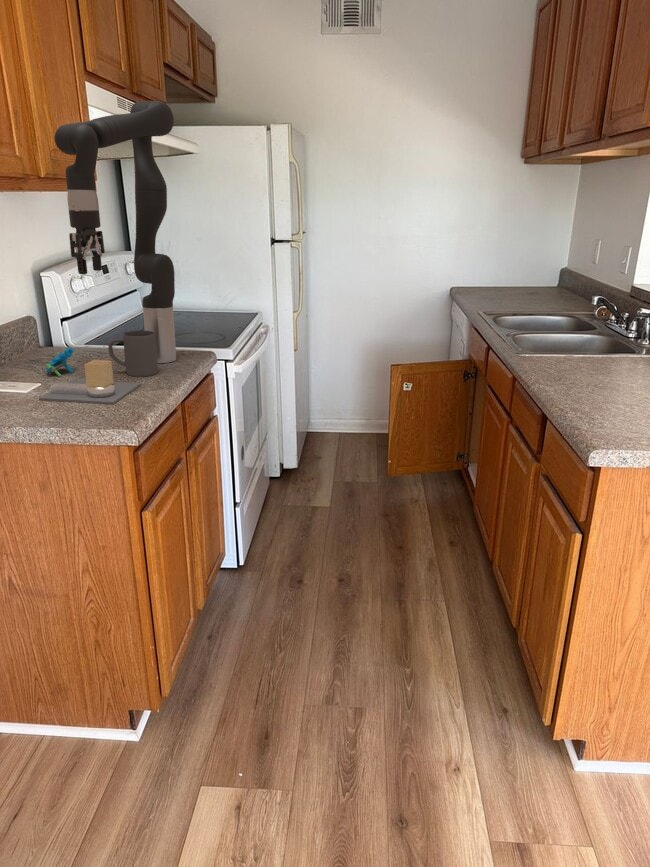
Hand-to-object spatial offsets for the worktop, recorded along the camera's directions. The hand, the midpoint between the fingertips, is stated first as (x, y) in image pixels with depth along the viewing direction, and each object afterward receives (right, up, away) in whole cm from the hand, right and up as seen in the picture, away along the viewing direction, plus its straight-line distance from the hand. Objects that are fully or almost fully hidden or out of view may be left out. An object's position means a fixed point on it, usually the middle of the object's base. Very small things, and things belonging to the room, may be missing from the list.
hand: (90, 272), depth 173 cm
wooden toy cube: (+5, -31, -5) cm, 32 cm away
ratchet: (0, -33, -4) cm, 33 cm away
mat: (+1, -33, -1) cm, 33 cm away
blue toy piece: (-15, -26, +17) cm, 35 cm away
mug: (+7, -26, +18) cm, 32 cm away
